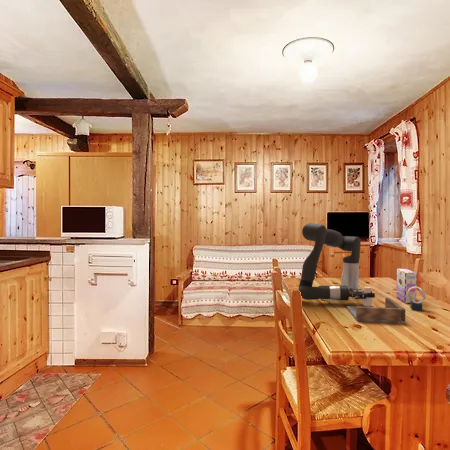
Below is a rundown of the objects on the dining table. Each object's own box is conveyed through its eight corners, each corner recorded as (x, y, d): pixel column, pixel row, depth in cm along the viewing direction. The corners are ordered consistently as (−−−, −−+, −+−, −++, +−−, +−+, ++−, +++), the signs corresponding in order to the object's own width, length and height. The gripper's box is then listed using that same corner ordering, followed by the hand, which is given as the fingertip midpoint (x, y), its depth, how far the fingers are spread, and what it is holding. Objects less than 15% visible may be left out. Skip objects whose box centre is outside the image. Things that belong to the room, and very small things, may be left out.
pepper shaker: (361, 304, 165) (362, 286, 165) (369, 304, 165) (370, 286, 164) (364, 306, 161) (364, 288, 161) (372, 306, 161) (373, 288, 160)
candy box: (416, 304, 166) (417, 272, 165) (404, 303, 167) (405, 272, 167) (407, 297, 179) (407, 268, 179) (395, 296, 181) (396, 268, 180)
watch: (426, 311, 153) (427, 288, 153) (407, 309, 156) (408, 287, 156) (424, 308, 158) (425, 286, 158) (406, 306, 161) (406, 285, 161)
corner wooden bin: (356, 321, 139) (357, 307, 139) (346, 308, 159) (346, 296, 158) (405, 323, 136) (405, 309, 136) (388, 309, 156) (388, 297, 155)
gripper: (341, 288, 158) (377, 290, 155) (335, 282, 172) (369, 283, 169) (340, 303, 158) (377, 305, 155) (335, 296, 172) (368, 297, 169)
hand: (373, 294), depth 162 cm, fingers closed on pepper shaker, 4 cm apart
